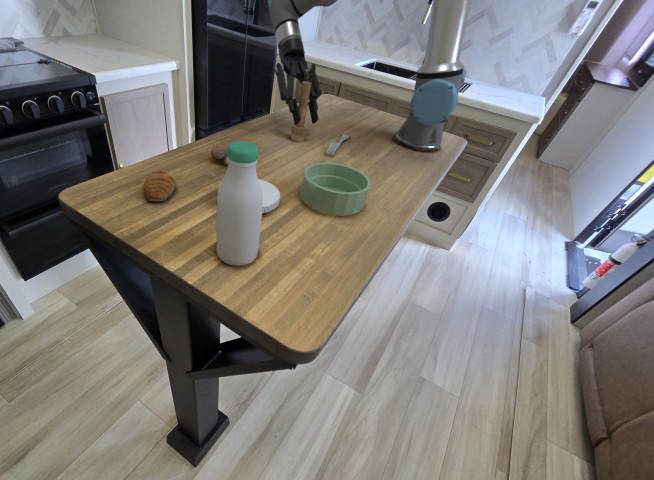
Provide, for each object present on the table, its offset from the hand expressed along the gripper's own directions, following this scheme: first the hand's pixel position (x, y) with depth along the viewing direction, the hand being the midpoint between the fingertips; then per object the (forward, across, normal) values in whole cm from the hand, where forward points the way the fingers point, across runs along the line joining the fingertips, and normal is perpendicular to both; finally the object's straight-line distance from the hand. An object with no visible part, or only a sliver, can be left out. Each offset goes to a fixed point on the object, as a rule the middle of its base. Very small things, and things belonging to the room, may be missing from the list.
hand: (306, 121), depth 102 cm
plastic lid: (+26, +32, +16) cm, 44 cm away
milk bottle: (+38, +41, +28) cm, 63 cm away
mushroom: (+10, +29, +1) cm, 31 cm away
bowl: (+29, +12, +20) cm, 37 cm away
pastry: (+19, +50, +10) cm, 54 cm away
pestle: (+2, 0, -7) cm, 7 cm away
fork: (+7, -11, -2) cm, 14 cm away
